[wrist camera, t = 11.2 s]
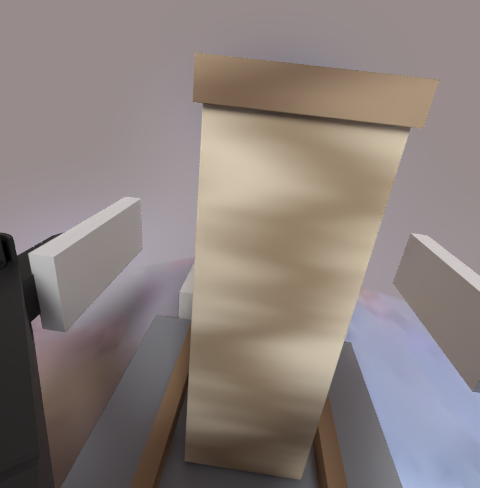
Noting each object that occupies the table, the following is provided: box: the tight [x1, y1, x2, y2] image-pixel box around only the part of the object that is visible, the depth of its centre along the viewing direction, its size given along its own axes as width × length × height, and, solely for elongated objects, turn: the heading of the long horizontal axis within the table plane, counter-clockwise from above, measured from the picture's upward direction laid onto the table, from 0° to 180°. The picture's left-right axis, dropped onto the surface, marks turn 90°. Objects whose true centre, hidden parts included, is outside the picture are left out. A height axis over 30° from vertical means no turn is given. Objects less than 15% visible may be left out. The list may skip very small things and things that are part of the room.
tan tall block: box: [184, 53, 439, 480], centre depth 13 cm, size 5×8×15 cm, turn 175°
